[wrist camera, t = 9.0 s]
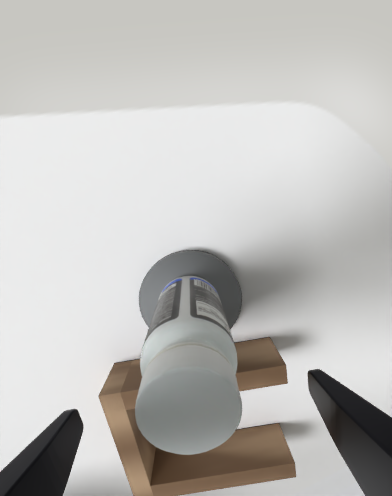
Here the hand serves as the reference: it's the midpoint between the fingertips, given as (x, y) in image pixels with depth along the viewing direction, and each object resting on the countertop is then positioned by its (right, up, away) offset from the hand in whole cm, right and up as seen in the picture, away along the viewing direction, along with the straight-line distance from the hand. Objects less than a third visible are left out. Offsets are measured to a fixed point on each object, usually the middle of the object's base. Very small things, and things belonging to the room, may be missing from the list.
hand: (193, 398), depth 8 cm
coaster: (0, +2, +8) cm, 9 cm away
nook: (+1, -8, +11) cm, 14 cm away
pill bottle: (0, +2, +8) cm, 8 cm away
